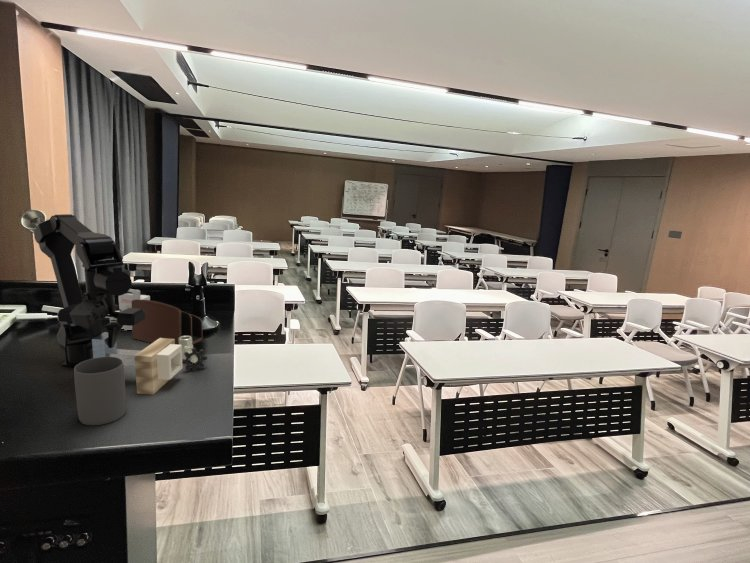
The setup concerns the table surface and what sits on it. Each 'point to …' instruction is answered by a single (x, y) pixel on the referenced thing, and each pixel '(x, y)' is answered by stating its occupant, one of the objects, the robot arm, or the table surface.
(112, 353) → the pale grey block
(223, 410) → the table surface
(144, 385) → the wooden block
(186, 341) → the valve
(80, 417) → the mug
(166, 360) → the block
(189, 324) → the letter holder
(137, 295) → the ink box
